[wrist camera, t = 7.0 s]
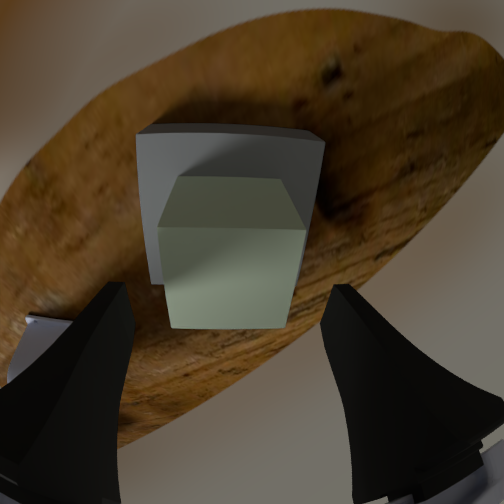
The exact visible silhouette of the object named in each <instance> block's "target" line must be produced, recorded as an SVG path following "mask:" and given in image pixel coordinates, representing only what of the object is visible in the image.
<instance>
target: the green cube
mask: <svg viewBox="0 0 504 504" xmlns="http://www.w3.org/2000/svg"><path fill="white" fill-rule="evenodd" d="M157 234H158V243H159V251H160V259H161V267H162V274H163V281H164V287H165V294H166V300H167V306H168V312H169V318H170V323H171V328H182V329H268V328H285V325H286V321H287V317H288V313H289V308H290V304H291V300H292V295H293V291H294V287H295V282H296V278H297V273H298V268H299V264H300V259H301V254H302V250H303V245H304V240H305V235H306V228H305V226H304V224H303V222H302V220H301V218H300V216H299V214H298V212H297V210H296V208H295V206H294V204H293V202H292V200H291V198H290V196H289V194H288V192H287V190H286V189H285V187H284V185H283V183H282V181H281V179H272V178H251V177H219V176H178V177H177V179H176V181H175V184H174V186H173V188H172V191H171V193H170V195H169V198H168V200H167V203H166V205H165V208H164V210H163V213H162V215H161V218H160V220H159V223H158V226H157Z"/></svg>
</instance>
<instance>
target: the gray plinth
mask: <svg viewBox="0 0 504 504" xmlns="http://www.w3.org/2000/svg"><path fill="white" fill-rule="evenodd" d="M324 148H325V142H324V141H323V140H322V139H320V138H319V137H317V136H316V135H314V134H313V133H311V132H310V131H307V130H299V129H291V128H281V127H270V126H257V125H242V124H217V123H169V124H150V125H149V126H147V127H146V128H144V129H143V130H142V131H140V132H139V133H137V134H136V151H137V169H138V183H139V195H140V205H141V215H142V223H143V232H144V239H145V247H146V254H147V260H148V267H149V273H150V279H151V284H164V281H163V274H162V267H161V259H160V251H159V243H158V234H157V226H158V223H159V220H160V218H161V215H162V213H163V210H164V208H165V205H166V203H167V200H168V198H169V195H170V193H171V191H172V188H173V186H174V184H175V181H176V179H177V177H178V176H219V177H251V178H272V179H281V181H282V183H283V185H284V187H285V189H286V190H287V192H288V194H289V196H290V198H291V200H292V202H293V204H294V206H295V208H296V210H297V212H298V214H299V216H300V218H301V220H302V222H303V224H304V226H305V228H306V235H305V240H304V245H303V250H302V254H301V259H300V264H299V268H298V273H297V278H296V282H295V286H296V285H297V281H298V277H299V273H300V268H301V264H302V259H303V255H304V251H305V246H306V241H307V237H308V232H309V227H310V222H311V218H312V213H313V208H314V203H315V197H316V192H317V187H318V182H319V176H320V171H321V165H322V159H323V154H324Z"/></svg>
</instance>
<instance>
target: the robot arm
mask: <svg viewBox="0 0 504 504" xmlns="http://www.w3.org/2000/svg"><path fill="white" fill-rule="evenodd" d="M25 319H26V321H27V323H28V325H27V327H26V329H25V332H24V334H23V336H22V338H21V340H20V342H19V344H18V346H17V349H16V351H15V353H14V355H13V358H12V360H11V362H10V365H9V369H8V375H7V383H8V384H7V385H5V386H4V387H2V388H1V389H0V504H121V499H120V492H119V482H118V470H117V469H118V468H117V429H118V414H119V406H120V400H121V395H122V391H123V386H124V381H125V377H126V373H127V369H128V364H129V360H130V356H131V352H132V346H133V339H134V331H135V319H134V316H133V312H132V309H131V305H130V301H129V298H128V294H127V290H126V286H125V282H108V283H107V284H106V285H105V286H104V287H103V288H102V289H101V290H100V291H99V293H98V294H97V295H96V296H95V297H94V298H93V299H92V301H91V302H90V303H89V304H88V305H87V306H86V307H85V309H84V310H83V311H82V312H81V313H80V314H79V315H78V316H77V318H76V319H75V320H74V321H68V320H60V319H53V318H46V317H39V316H33V315H27V316H26V318H25ZM320 326H321V332H322V337H323V341H324V347H325V350H326V353H327V356H328V359H329V362H330V365H331V368H332V371H333V375H334V377H335V380H336V384H337V386H338V390H339V392H340V396H341V399H342V403H343V407H344V412H345V417H346V423H347V428H348V436H349V443H350V452H351V464H352V498H353V503H354V504H363V503H367V502H370V501H374V500H377V499H380V498H383V497H385V496H387V497H388V501H389V502H388V503H385V504H499V503H501V502H502V501H503V500H504V440H503V439H502V440H500V441H498V442H497V443H496V444H494V445H493V446H491V447H490V448H489V449H487V450H486V451H484V452H482V453H481V454H480V452H479V449H481V448H482V447H483V444H482V442H481V439H483V438H485V437H486V436H487V435H489V434H490V433H492V432H493V431H494V430H495V429H497V428H498V427H500V426H501V425H502V424H504V401H503V399H502V398H501V397H498V396H496V395H494V394H491V393H489V392H487V391H484V390H482V389H480V388H477V387H476V386H474V385H472V384H470V383H468V382H466V381H464V380H463V379H461V378H459V377H458V376H456V375H454V374H453V373H451V372H449V371H448V370H447V369H445V368H444V367H442V366H441V365H439V364H438V363H436V362H435V361H433V360H432V359H431V358H430V357H428V356H427V355H426V354H424V353H423V352H422V351H420V350H419V349H418V348H417V347H415V346H414V345H413V344H412V343H411V342H410V341H409V340H407V339H406V338H405V337H404V336H403V335H402V334H401V333H400V332H398V331H397V330H396V329H395V328H394V327H393V326H392V325H391V324H390V323H389V322H388V321H387V320H386V319H385V318H383V316H382V315H381V314H380V313H378V312H377V311H376V310H375V309H374V308H373V307H372V306H371V305H370V304H369V303H368V302H367V301H366V300H365V299H364V298H363V297H362V296H361V295H360V294H359V293H358V292H357V291H356V290H355V289H354V288H353V287H352V286H351V285H349V284H334V285H333V288H332V291H331V294H330V297H329V300H328V302H327V305H326V308H325V311H324V314H323V317H322V319H321V322H320Z"/></svg>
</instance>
